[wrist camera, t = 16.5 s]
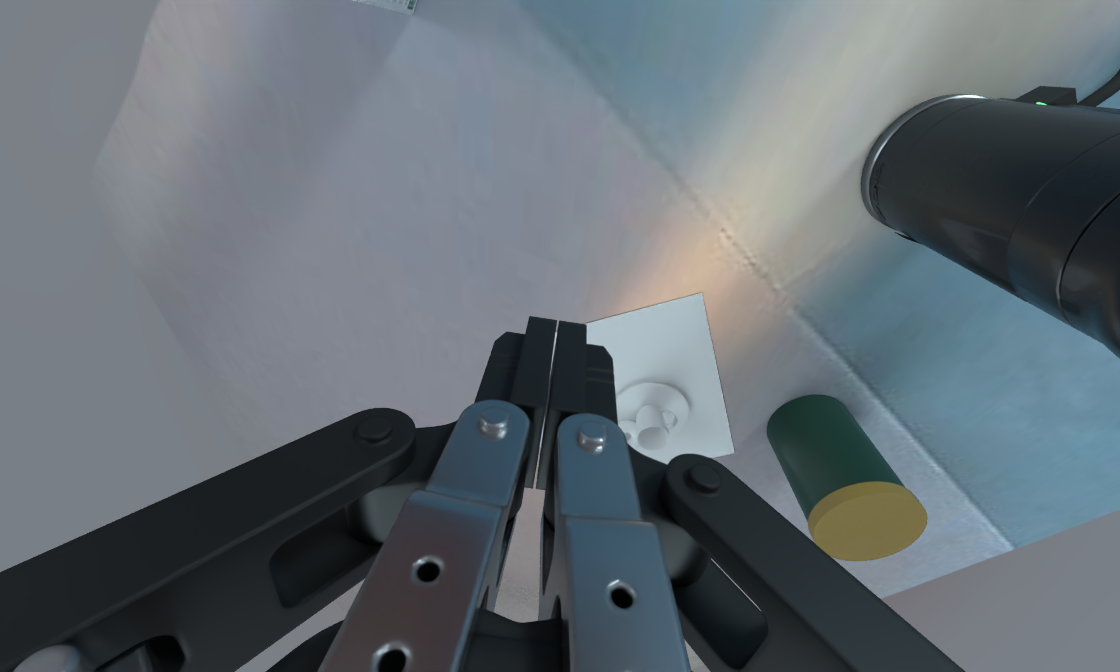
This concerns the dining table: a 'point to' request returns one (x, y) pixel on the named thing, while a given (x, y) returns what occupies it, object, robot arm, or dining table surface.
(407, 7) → the syrup box
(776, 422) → the tea tin
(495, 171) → the dining table surface
